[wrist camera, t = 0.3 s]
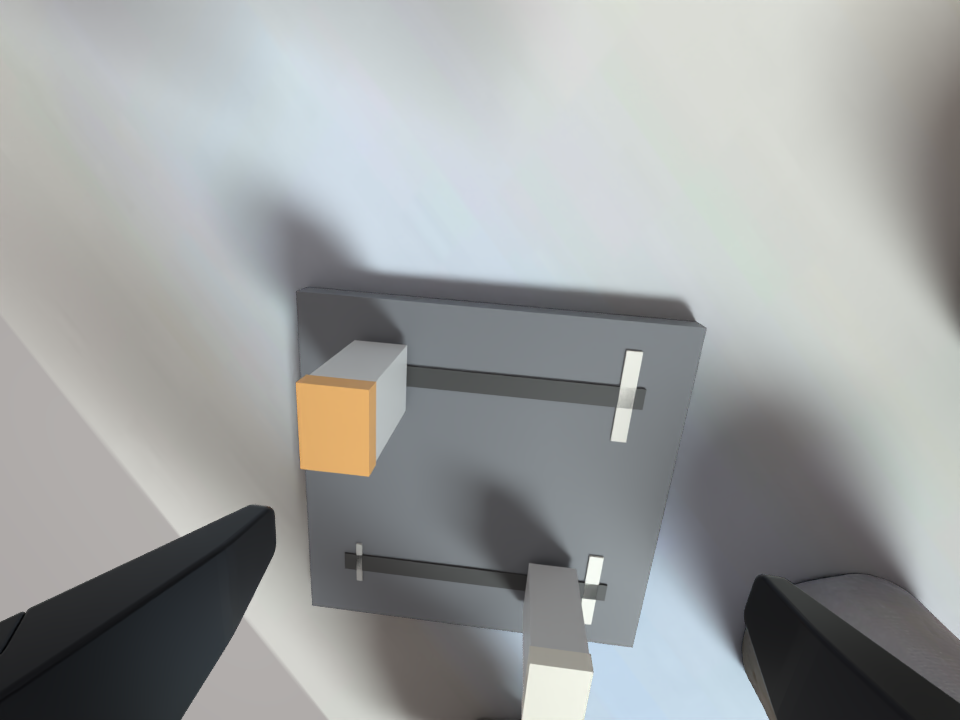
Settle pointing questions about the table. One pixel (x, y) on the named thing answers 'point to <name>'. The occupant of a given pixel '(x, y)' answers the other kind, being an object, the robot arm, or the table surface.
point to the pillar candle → (880, 629)
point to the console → (501, 459)
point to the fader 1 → (351, 407)
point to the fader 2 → (554, 646)
